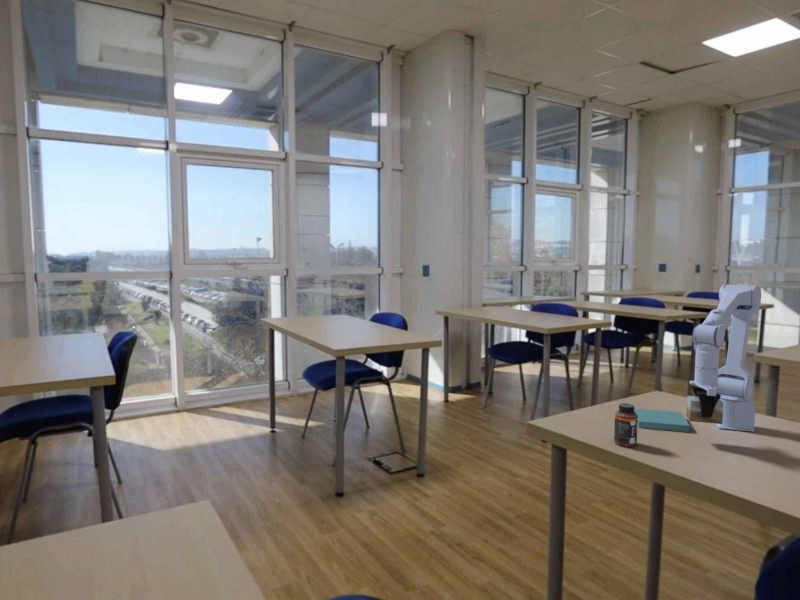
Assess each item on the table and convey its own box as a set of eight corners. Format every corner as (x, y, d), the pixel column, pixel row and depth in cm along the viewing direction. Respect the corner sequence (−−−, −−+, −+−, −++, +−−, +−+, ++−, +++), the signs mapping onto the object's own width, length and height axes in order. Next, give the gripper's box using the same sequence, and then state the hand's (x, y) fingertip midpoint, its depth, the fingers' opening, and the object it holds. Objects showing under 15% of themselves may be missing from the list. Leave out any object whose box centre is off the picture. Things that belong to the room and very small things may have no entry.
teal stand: (681, 418, 169) (681, 412, 169) (689, 432, 156) (689, 425, 156) (634, 414, 174) (634, 408, 174) (638, 427, 161) (638, 421, 160)
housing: (717, 418, 148) (718, 398, 148) (722, 424, 144) (723, 402, 143) (686, 415, 151) (687, 395, 150) (689, 421, 146) (690, 400, 146)
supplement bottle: (639, 448, 144) (640, 408, 143) (616, 447, 145) (617, 407, 144) (634, 440, 150) (635, 402, 148) (612, 439, 151) (613, 401, 150)
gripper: (685, 361, 154) (683, 405, 155) (696, 371, 140) (693, 420, 142) (712, 362, 152) (710, 407, 153) (726, 373, 138) (723, 423, 139)
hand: (704, 414), depth 147 cm, fingers closed on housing, 5 cm apart
